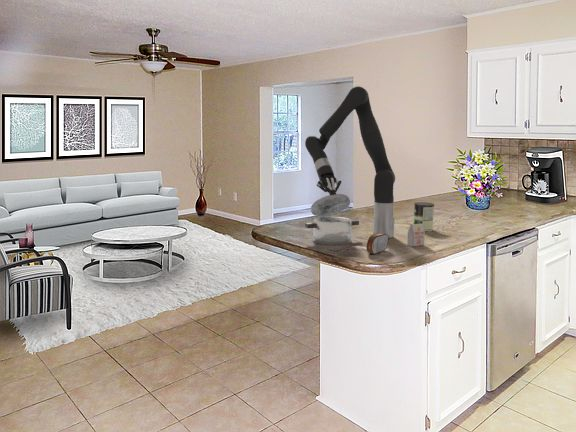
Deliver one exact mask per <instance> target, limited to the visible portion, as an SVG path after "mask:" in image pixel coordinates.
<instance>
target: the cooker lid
mask: <svg viewBox="0 0 576 432" xmlns="http://www.w3.org/2000/svg"><path fill="white" fill-rule="evenodd" d="M350 204H351V200H350V197H349V196H348V195H346V194H342V193H336V194H334V195H330V194H328V195H326V196H324V197H321V198H319V199H317V200H316V201H315V202H313V203H312V205H311V206H310V212H311V214H312V215H313V216H315V217H332V216H334V215H337V214H340V213H341V212H343V211H345V210H347V208H349V206H350Z"/></svg>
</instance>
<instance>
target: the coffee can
mask: <svg viewBox="0 0 576 432" xmlns="http://www.w3.org/2000/svg"><path fill="white" fill-rule="evenodd" d="M413 204H414V206H413V209H414V210H413V221H412V222H413V224H423V227H424V231H428V232H432V231H433V227H434V225H433V224H434V214H435V213H434V212H435V211H434V209H435V203H433V202H426V201H425V202H424V201H423V202H422V201H419V202H414V203H413Z"/></svg>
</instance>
